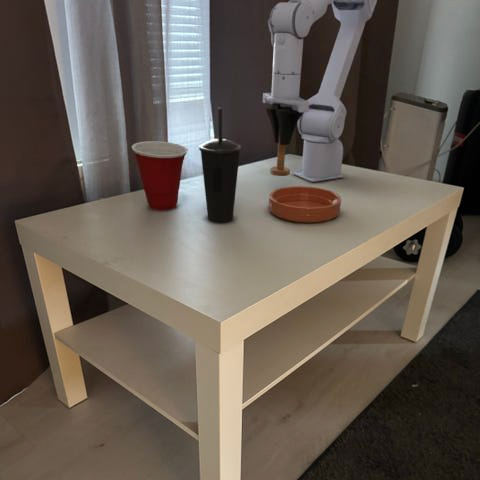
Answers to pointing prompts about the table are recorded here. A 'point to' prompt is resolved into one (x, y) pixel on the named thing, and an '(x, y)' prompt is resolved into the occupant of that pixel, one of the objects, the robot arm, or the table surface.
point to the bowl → (304, 204)
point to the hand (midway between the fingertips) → (282, 143)
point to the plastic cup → (160, 172)
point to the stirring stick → (280, 163)
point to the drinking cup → (220, 175)
